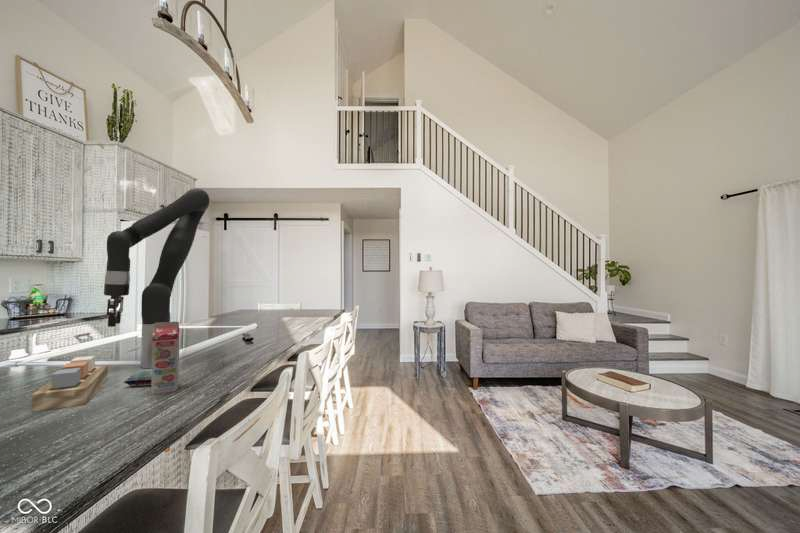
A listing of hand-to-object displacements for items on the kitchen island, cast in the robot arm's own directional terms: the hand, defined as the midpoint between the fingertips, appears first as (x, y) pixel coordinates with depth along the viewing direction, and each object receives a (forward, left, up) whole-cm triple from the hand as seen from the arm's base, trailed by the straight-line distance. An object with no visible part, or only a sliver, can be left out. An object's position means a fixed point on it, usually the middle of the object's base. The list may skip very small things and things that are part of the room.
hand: (114, 324), depth 131 cm
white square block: (+5, +18, -12) cm, 22 cm away
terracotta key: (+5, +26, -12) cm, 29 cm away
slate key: (+5, +34, -12) cm, 36 cm away
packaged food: (-14, +25, -18) cm, 33 cm away
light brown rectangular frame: (+5, +26, -17) cm, 31 cm away
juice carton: (-19, +34, -17) cm, 43 cm away
